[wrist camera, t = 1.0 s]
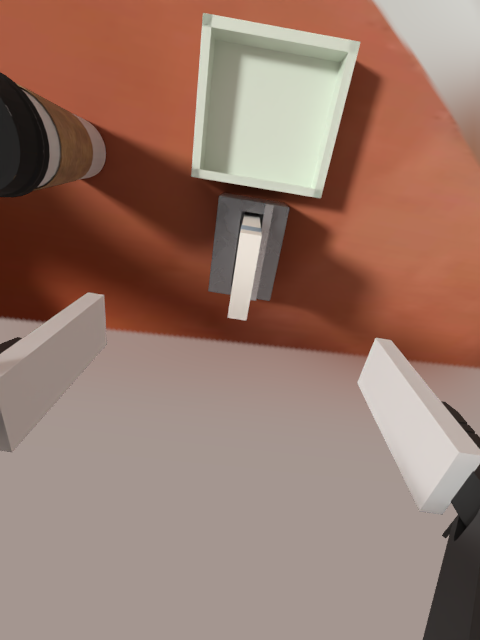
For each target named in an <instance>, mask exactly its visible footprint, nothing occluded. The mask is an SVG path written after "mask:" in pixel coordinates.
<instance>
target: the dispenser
mask: <svg viewBox="0 0 480 640" xmlns="http://www.w3.org/2000/svg"><path fill="white" fill-rule="evenodd" d="M289 209H290V208H289V207H288V206H287V205H286V204H285V203H284V202H278V201H272V200H266V199H260V198H254V197H248V196H242V195H236V194H230V193H223V194H221V195H220V196H219V201H218V210H217V219H216V228H215V237H214V245H213V254H212V263H211V272H210V281H209V290H208V291H210V292H216V293H223V294H229V295H231V291H232V284H233V277H234V270H235V264H236V257H237V250H238V243H239V237H240V230H241V226H242V223H243V219H244V214H245V211H246V212H252V213H258V214H259V217H260V225H261V232H262V233H261V234H262V237H261V243H260V249H259V254H258V260H257V265H256V271H255V276H254V282H253V287H252V293H251V298H250V300H254V301H256V299H261V300H267V301H270V298H271V293H272V289H273V284H274V279H275V274H276V270H277V265H278V260H279V256H280V251H281V246H282V242H283V237H284V232H285V227H286V223H287V218H288V213H289Z"/></svg>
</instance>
